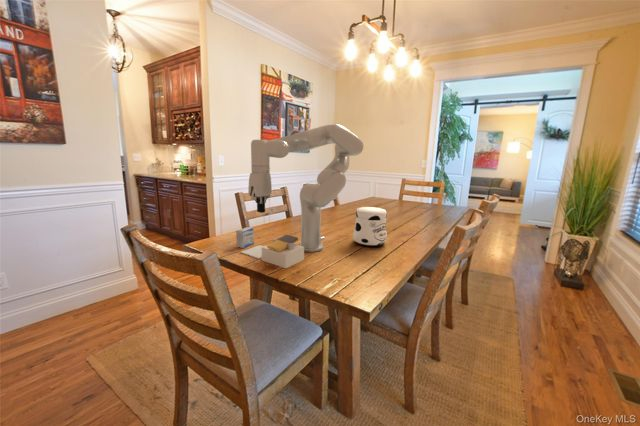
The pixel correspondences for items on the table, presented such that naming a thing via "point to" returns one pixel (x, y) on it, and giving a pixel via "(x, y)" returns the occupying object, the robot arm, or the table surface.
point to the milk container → (370, 226)
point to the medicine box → (245, 237)
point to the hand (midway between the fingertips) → (261, 211)
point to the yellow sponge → (282, 242)
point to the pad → (254, 252)
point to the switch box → (283, 255)
